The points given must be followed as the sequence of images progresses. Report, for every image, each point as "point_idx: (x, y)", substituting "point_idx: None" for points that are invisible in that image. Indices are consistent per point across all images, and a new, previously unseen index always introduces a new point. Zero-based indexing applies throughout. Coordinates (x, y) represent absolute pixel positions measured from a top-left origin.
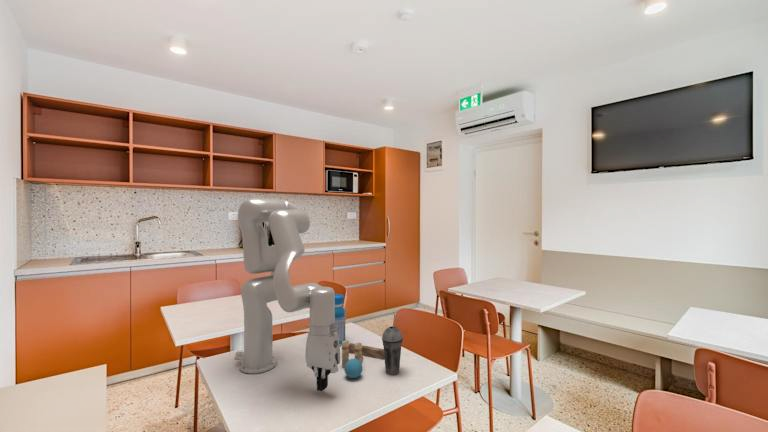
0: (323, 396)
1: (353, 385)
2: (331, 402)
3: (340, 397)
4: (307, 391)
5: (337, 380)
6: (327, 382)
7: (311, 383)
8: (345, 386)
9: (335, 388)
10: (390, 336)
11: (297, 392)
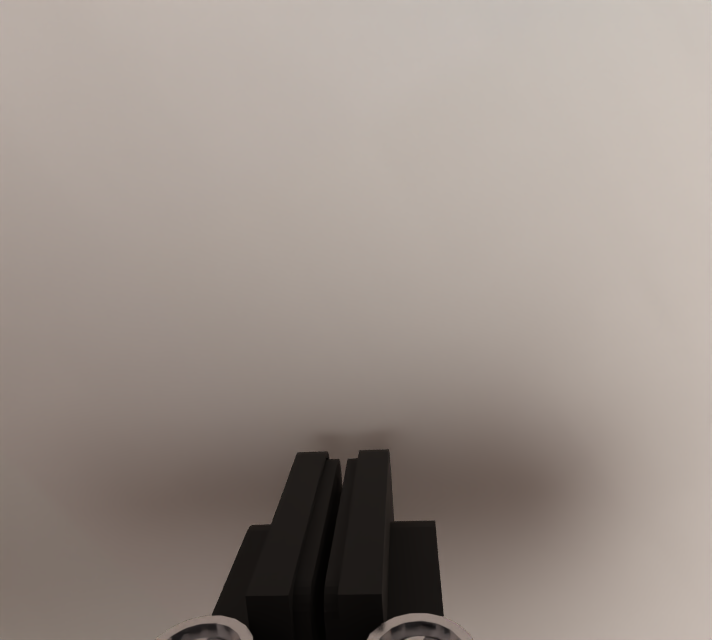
0: None
1: (699, 18)
2: (611, 597)
3: (669, 447)
4: (131, 520)
5: (314, 12)
6: (435, 554)
7: (8, 321)
8: (573, 127)
9: (448, 268)
10: None
11: (38, 592)
